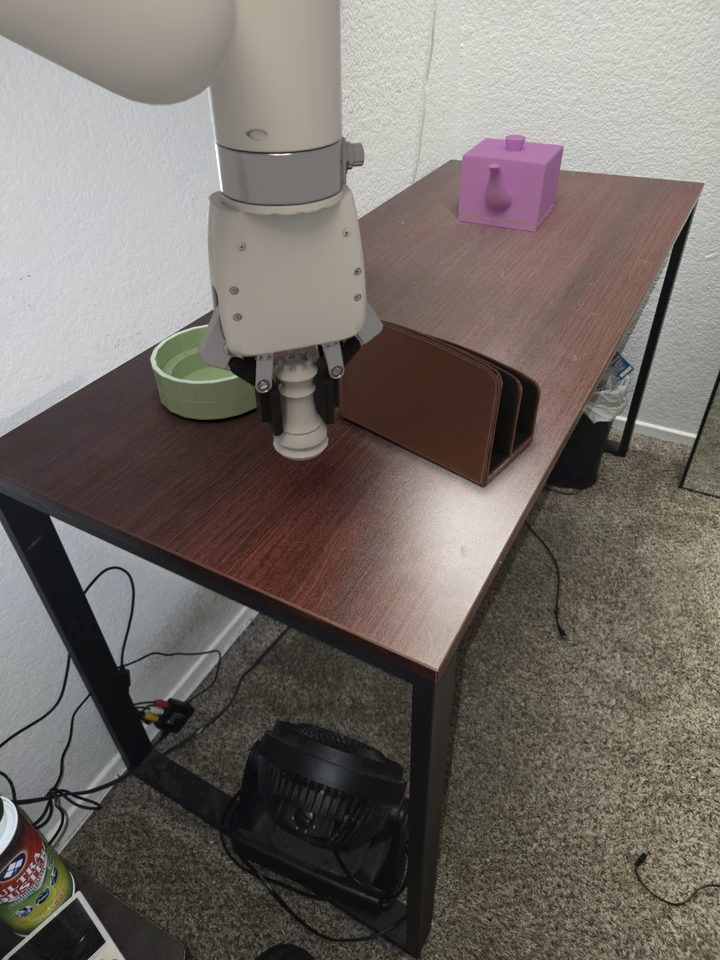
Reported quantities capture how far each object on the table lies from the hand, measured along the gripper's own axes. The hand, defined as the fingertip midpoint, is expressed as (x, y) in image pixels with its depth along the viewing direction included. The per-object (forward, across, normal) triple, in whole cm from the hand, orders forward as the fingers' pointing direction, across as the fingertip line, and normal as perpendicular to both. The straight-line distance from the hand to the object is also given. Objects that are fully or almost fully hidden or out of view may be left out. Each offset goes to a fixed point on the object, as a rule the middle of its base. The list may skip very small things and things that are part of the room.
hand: (299, 418), depth 51 cm
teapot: (+13, -62, -70) cm, 94 cm away
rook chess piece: (+3, 0, 0) cm, 3 cm away
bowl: (+15, +2, -30) cm, 33 cm away
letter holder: (+14, -19, -12) cm, 27 cm away
